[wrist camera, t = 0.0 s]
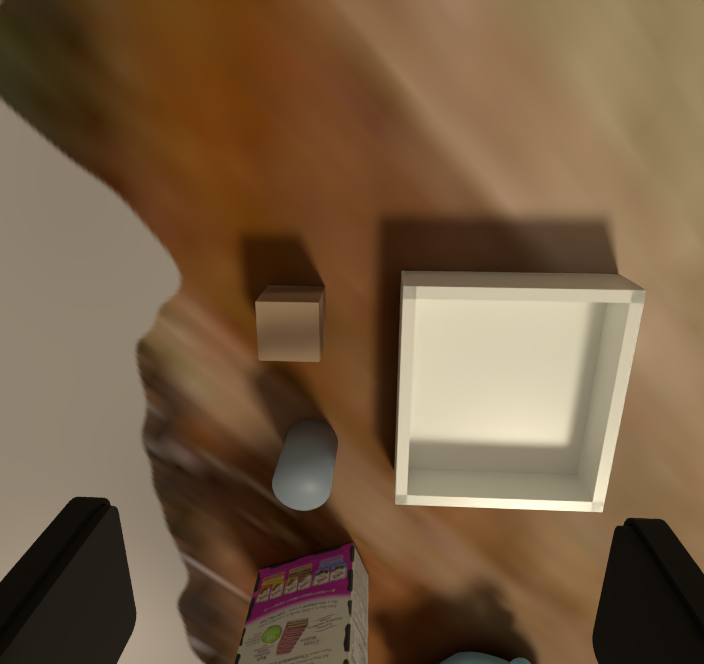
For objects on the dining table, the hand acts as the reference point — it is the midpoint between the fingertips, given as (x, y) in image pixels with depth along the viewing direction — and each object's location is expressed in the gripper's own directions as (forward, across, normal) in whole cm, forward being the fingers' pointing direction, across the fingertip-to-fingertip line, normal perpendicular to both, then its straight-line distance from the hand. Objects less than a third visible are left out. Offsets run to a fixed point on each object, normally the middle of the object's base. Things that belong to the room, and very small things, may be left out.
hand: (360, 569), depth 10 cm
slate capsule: (+37, +6, +20) cm, 42 cm away
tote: (+37, -11, +13) cm, 40 cm away
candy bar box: (+37, +6, +36) cm, 52 cm away
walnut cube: (+37, +7, +7) cm, 38 cm away
